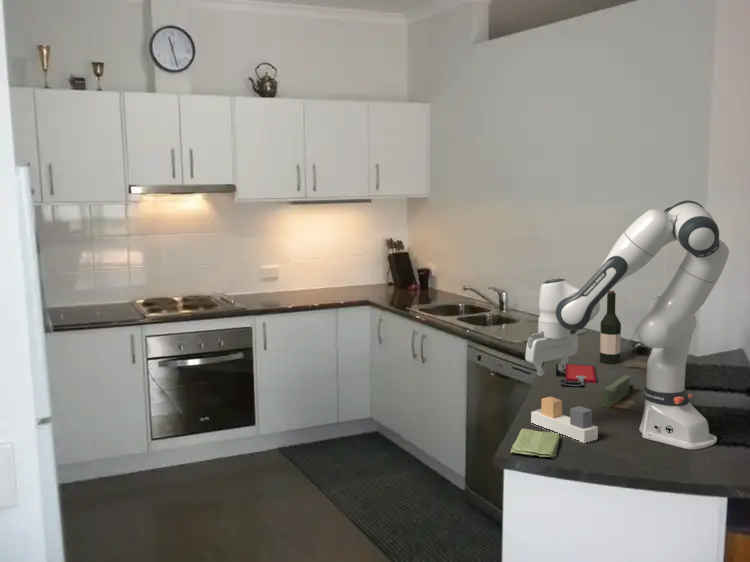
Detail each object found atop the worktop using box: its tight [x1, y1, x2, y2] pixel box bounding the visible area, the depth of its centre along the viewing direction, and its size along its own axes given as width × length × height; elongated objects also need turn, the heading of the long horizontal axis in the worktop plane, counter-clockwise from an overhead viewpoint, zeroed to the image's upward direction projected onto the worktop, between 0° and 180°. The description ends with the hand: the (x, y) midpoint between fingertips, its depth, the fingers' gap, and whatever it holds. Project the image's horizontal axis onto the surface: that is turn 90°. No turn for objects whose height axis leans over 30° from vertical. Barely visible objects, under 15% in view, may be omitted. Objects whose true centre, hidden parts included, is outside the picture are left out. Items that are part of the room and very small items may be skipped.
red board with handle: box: [555, 363, 597, 387], centre depth 294 cm, size 30×3×15 cm
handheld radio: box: [602, 374, 634, 408], centre depth 266 cm, size 7×3×25 cm
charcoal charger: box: [569, 405, 593, 429], centre depth 228 cm, size 5×4×7 cm
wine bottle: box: [599, 290, 622, 365], centre depth 312 cm, size 8×8×30 cm
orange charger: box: [540, 396, 563, 418], centre depth 238 cm, size 5×4×7 cm
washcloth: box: [510, 428, 561, 458], centre depth 223 cm, size 13×18×3 cm
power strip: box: [530, 408, 599, 444], centre depth 235 cm, size 22×6×5 cm, turn 33°
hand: (551, 372), depth 236 cm, fingers open, 8 cm apart
